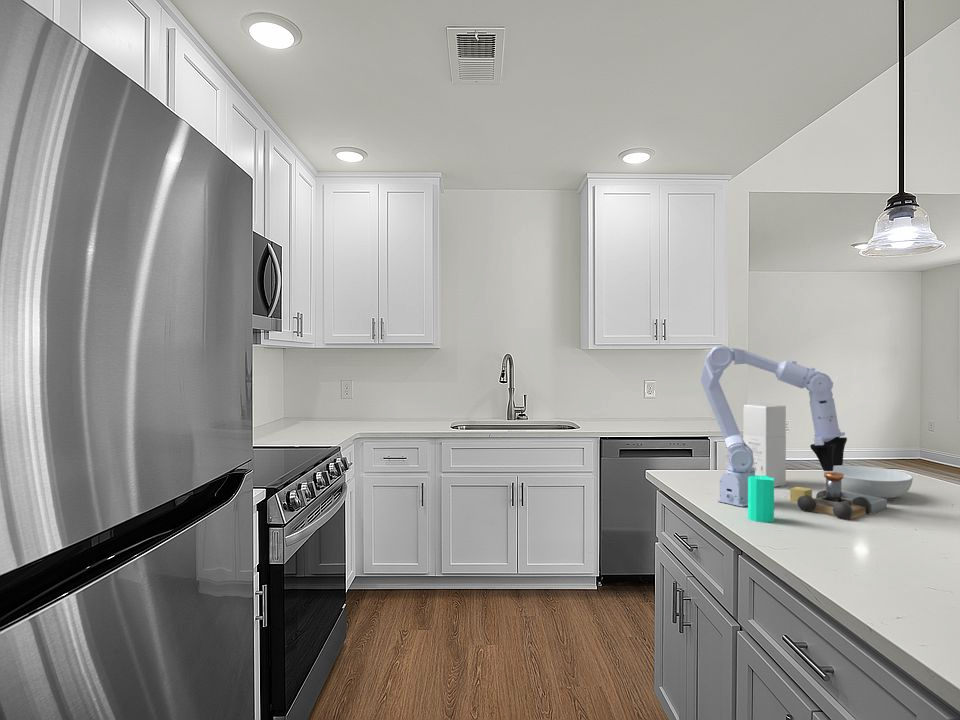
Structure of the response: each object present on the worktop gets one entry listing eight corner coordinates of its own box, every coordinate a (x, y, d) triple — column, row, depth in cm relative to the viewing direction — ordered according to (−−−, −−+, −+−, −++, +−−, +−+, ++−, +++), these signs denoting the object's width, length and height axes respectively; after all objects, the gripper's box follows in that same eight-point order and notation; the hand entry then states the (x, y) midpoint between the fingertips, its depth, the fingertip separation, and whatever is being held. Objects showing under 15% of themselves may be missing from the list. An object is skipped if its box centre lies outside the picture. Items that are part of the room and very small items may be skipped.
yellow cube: (804, 503, 167) (804, 491, 167) (790, 500, 170) (790, 488, 170) (812, 501, 169) (812, 489, 169) (797, 498, 173) (797, 486, 173)
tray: (871, 513, 156) (871, 504, 156) (823, 504, 166) (823, 495, 166) (886, 508, 161) (886, 499, 161) (839, 499, 171) (839, 490, 171)
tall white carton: (786, 485, 189) (786, 405, 189) (766, 488, 186) (766, 406, 185) (762, 480, 197) (762, 403, 197) (742, 482, 194) (742, 404, 193)
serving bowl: (828, 499, 171) (828, 475, 171) (825, 485, 190) (826, 463, 190) (918, 508, 162) (918, 482, 162) (906, 492, 180) (906, 469, 180)
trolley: (870, 513, 156) (870, 498, 156) (849, 520, 150) (849, 504, 149) (819, 503, 167) (819, 489, 167) (797, 509, 160) (797, 494, 160)
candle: (759, 523, 148) (759, 474, 148) (742, 516, 154) (742, 469, 153) (779, 521, 149) (779, 472, 149) (762, 515, 155) (762, 468, 155)
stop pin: (838, 507, 155) (838, 475, 155) (820, 503, 159) (820, 473, 159) (846, 504, 158) (846, 474, 157) (828, 501, 161) (829, 471, 161)
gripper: (831, 420, 153) (841, 473, 152) (849, 412, 163) (858, 462, 162) (802, 421, 158) (811, 473, 157) (821, 414, 168) (829, 462, 167)
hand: (833, 468), depth 160 cm, fingers open, 7 cm apart
